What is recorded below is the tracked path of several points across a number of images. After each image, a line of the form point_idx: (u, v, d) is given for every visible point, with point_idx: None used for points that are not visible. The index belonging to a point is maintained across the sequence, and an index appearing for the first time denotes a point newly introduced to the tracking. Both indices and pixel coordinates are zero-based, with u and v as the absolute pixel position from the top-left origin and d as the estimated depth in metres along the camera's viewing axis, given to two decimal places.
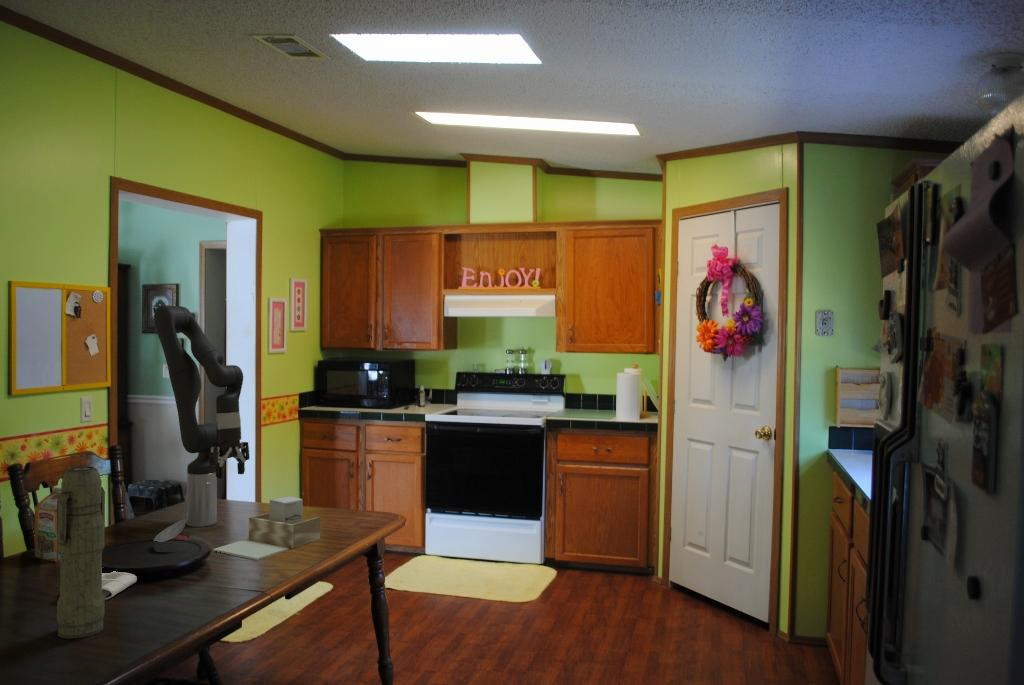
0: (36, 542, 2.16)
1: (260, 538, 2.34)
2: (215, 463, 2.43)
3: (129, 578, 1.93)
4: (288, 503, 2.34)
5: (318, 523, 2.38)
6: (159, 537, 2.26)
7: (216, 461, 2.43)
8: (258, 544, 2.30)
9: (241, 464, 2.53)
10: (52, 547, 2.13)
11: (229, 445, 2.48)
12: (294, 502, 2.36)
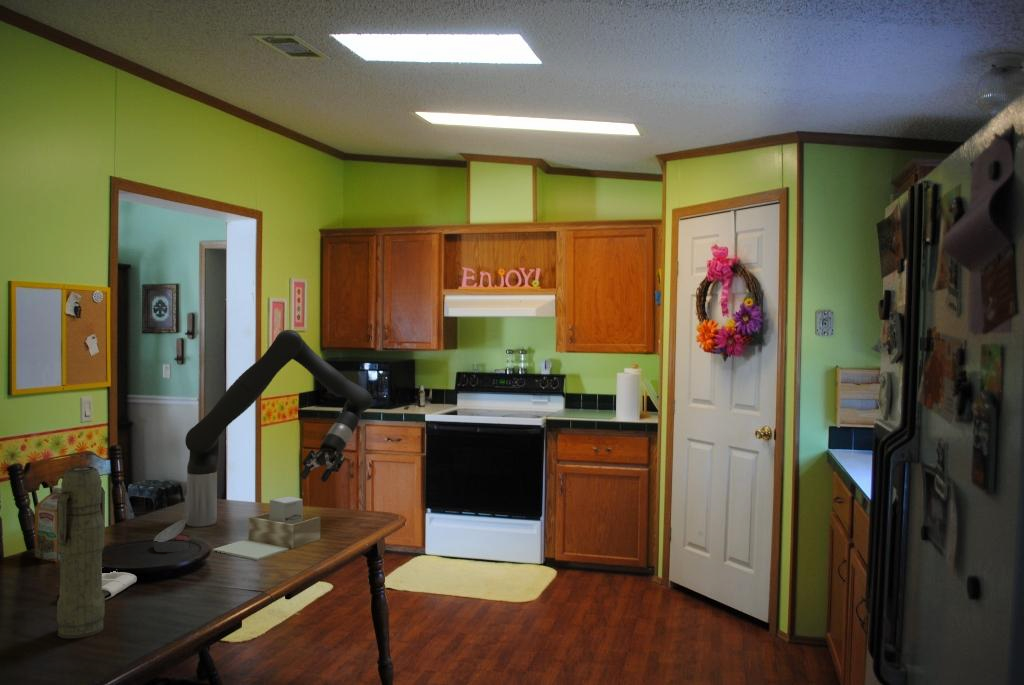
0: (36, 542, 2.16)
1: (260, 538, 2.34)
2: None
3: (129, 578, 1.93)
4: (288, 503, 2.34)
5: (318, 523, 2.38)
6: (159, 537, 2.26)
7: None
8: (258, 544, 2.30)
9: (309, 471, 2.52)
10: (52, 547, 2.13)
11: None
12: (294, 502, 2.36)
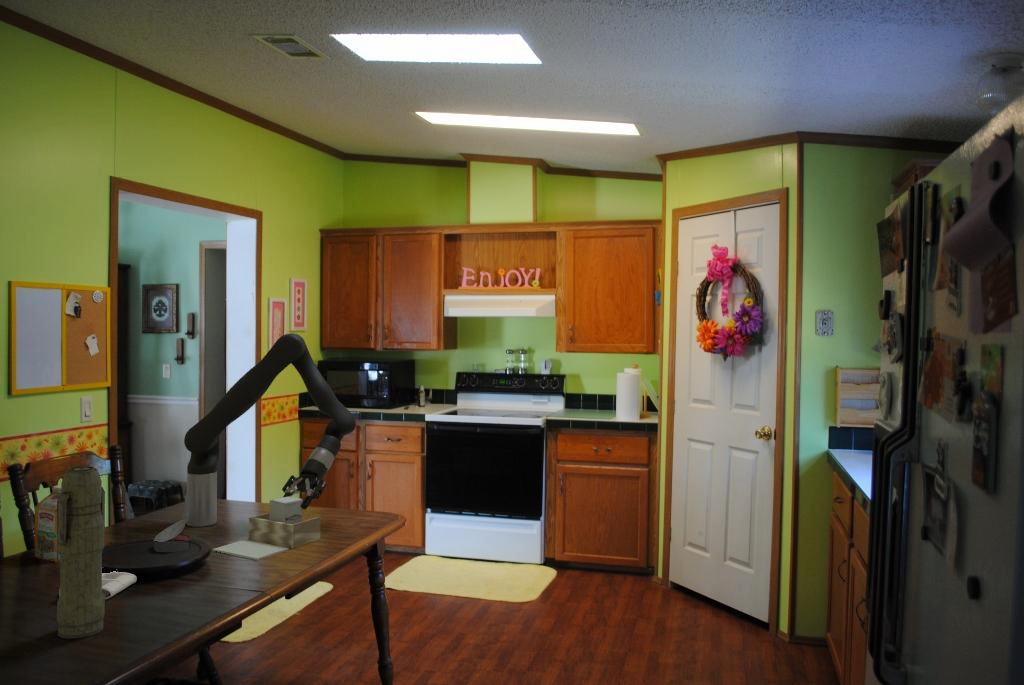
0: (36, 542, 2.16)
1: (260, 538, 2.34)
2: None
3: (129, 578, 1.93)
4: (288, 503, 2.34)
5: (318, 523, 2.38)
6: (159, 537, 2.26)
7: None
8: (258, 544, 2.30)
9: None
10: (52, 547, 2.13)
11: None
12: (294, 502, 2.36)
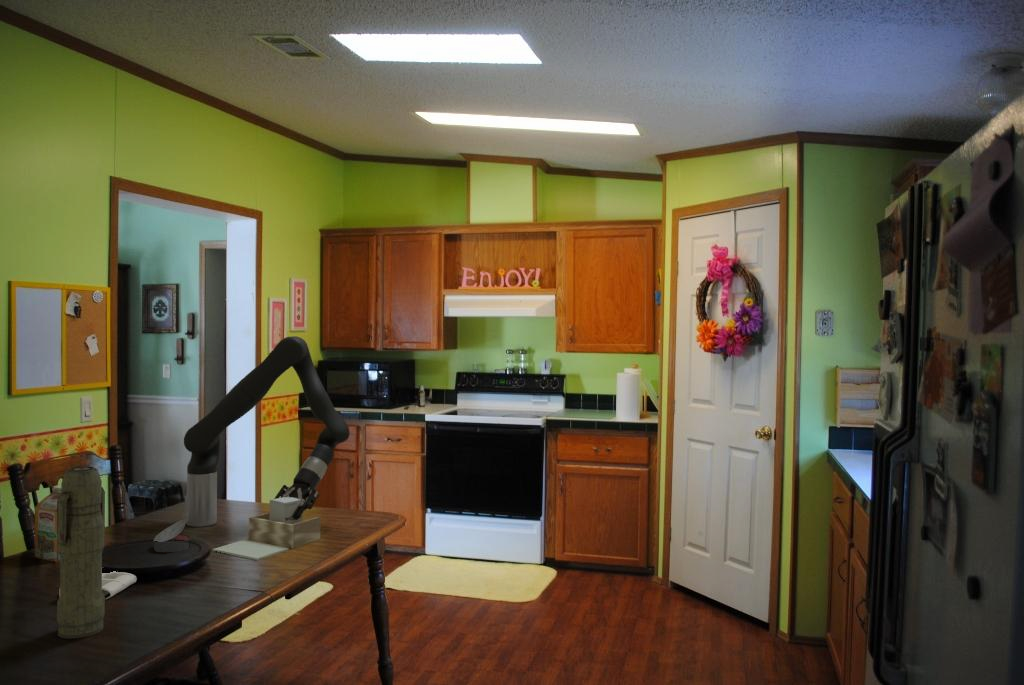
0: (36, 542, 2.16)
1: (260, 538, 2.34)
2: None
3: (129, 578, 1.93)
4: (288, 503, 2.34)
5: (318, 523, 2.38)
6: (159, 537, 2.26)
7: None
8: (258, 544, 2.30)
9: None
10: (52, 547, 2.13)
11: None
12: (294, 502, 2.36)
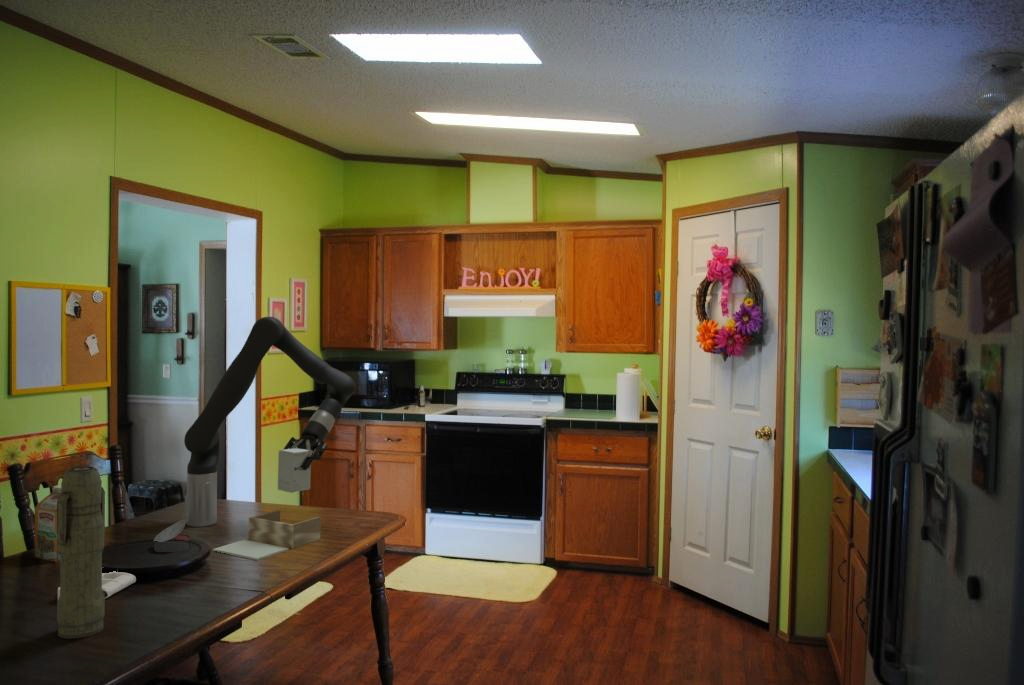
0: (36, 542, 2.16)
1: (260, 538, 2.34)
2: None
3: (128, 578, 1.93)
4: (297, 453, 2.37)
5: (318, 523, 2.38)
6: (159, 537, 2.26)
7: None
8: (258, 544, 2.30)
9: None
10: (52, 547, 2.13)
11: None
12: (303, 452, 2.39)
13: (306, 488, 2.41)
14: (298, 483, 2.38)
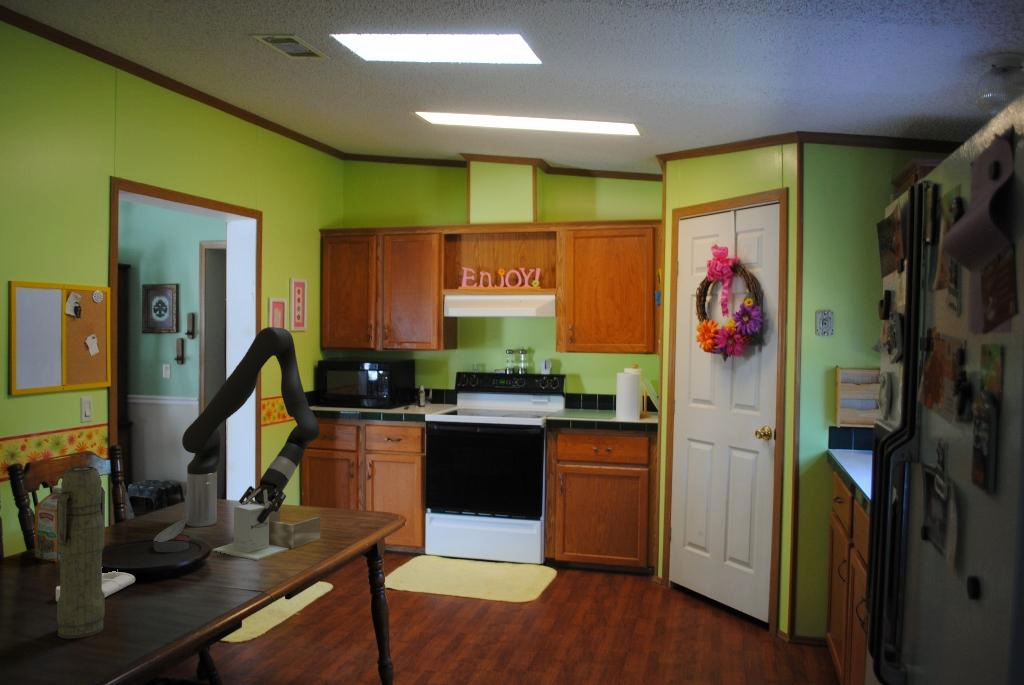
0: (36, 542, 2.16)
1: None
2: None
3: (127, 578, 1.93)
4: (254, 510, 2.22)
5: (318, 523, 2.38)
6: (159, 537, 2.26)
7: None
8: None
9: None
10: (52, 547, 2.13)
11: None
12: (260, 509, 2.24)
13: (264, 546, 2.25)
14: (255, 542, 2.22)
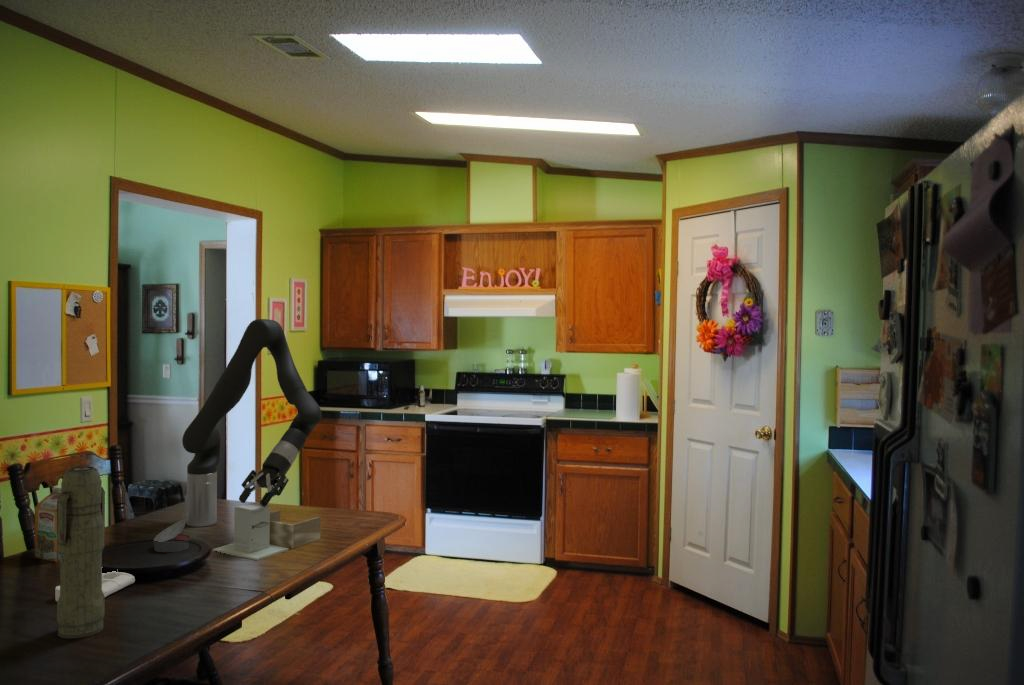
0: (36, 542, 2.16)
1: None
2: None
3: (126, 578, 1.93)
4: (255, 510, 2.22)
5: (318, 523, 2.38)
6: (159, 537, 2.26)
7: None
8: None
9: (249, 493, 2.30)
10: (52, 547, 2.13)
11: None
12: (261, 509, 2.24)
13: (265, 546, 2.25)
14: (256, 542, 2.23)
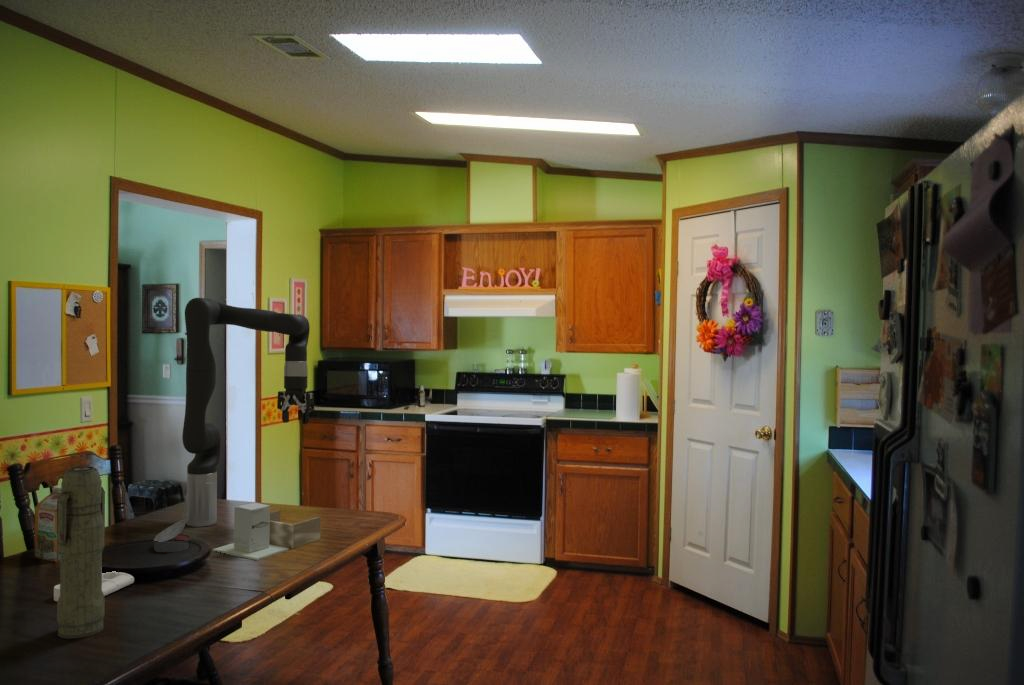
0: (36, 542, 2.16)
1: None
2: None
3: (125, 578, 1.93)
4: (255, 510, 2.22)
5: (318, 523, 2.38)
6: (159, 537, 2.26)
7: None
8: None
9: (288, 412, 2.57)
10: (52, 547, 2.13)
11: None
12: (261, 509, 2.24)
13: (265, 546, 2.25)
14: (256, 542, 2.23)
